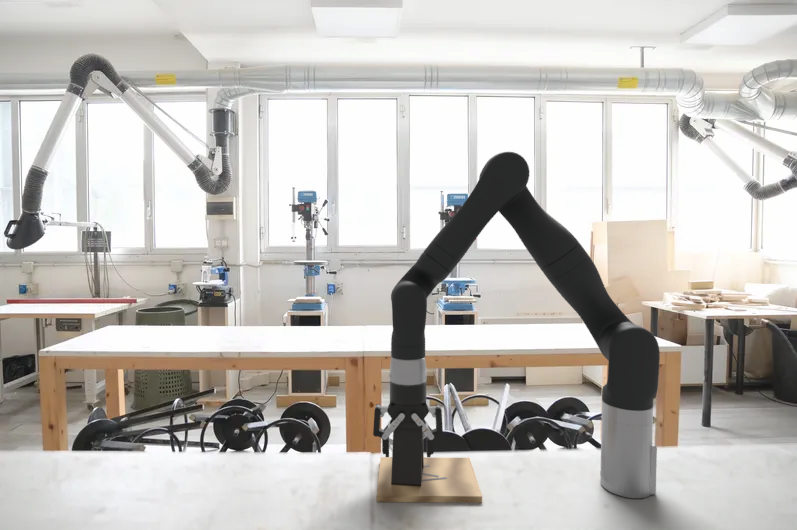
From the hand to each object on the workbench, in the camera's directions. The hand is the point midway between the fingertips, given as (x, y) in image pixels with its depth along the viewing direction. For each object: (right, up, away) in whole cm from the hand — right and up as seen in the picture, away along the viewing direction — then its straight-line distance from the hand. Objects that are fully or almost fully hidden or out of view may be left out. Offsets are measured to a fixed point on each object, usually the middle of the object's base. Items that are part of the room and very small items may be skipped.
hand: (407, 455), depth 95 cm
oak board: (+4, -5, 0) cm, 7 cm away
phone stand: (0, -4, 0) cm, 4 cm away
